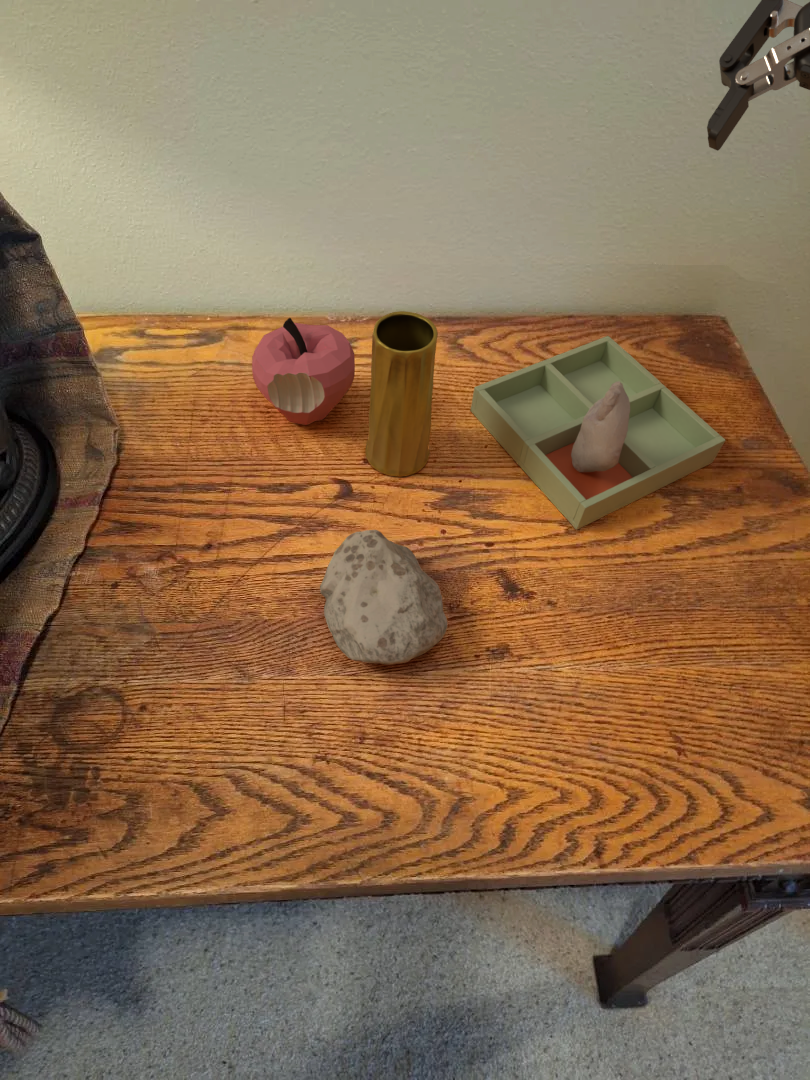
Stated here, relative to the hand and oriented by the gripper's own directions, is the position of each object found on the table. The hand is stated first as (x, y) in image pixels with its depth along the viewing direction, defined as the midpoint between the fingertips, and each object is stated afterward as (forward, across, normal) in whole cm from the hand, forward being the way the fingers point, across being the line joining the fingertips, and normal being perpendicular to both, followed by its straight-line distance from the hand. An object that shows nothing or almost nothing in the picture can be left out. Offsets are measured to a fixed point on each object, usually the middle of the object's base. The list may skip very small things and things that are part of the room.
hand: (763, 166), depth 53 cm
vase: (+34, -14, +3) cm, 37 cm away
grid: (+23, -3, +13) cm, 27 cm away
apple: (+36, -24, +1) cm, 43 cm away
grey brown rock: (+26, 0, +10) cm, 27 cm away
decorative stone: (+43, -3, -7) cm, 44 cm away
